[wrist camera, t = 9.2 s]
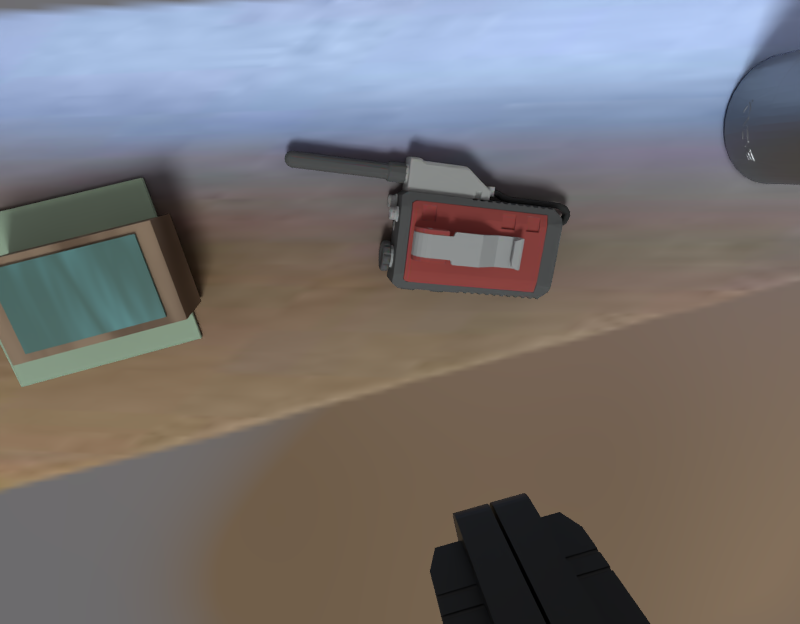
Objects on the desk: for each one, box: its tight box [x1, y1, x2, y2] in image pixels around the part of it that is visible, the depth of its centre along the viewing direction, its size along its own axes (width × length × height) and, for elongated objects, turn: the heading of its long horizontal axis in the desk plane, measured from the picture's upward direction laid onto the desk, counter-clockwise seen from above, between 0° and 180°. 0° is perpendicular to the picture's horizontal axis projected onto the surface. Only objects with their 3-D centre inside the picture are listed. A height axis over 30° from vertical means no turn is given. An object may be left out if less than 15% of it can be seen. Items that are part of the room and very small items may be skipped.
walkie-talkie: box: [285, 151, 570, 299], centre depth 35 cm, size 9×4×20 cm
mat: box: [0, 178, 202, 387], centre depth 34 cm, size 12×11×1 cm
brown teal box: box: [0, 214, 201, 366], centre depth 32 cm, size 5×6×10 cm
